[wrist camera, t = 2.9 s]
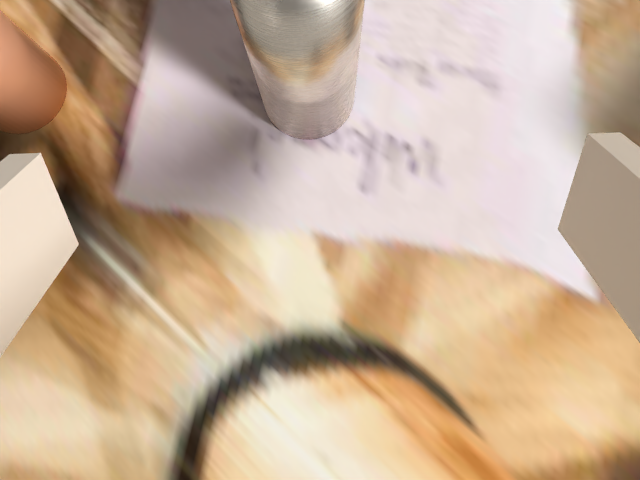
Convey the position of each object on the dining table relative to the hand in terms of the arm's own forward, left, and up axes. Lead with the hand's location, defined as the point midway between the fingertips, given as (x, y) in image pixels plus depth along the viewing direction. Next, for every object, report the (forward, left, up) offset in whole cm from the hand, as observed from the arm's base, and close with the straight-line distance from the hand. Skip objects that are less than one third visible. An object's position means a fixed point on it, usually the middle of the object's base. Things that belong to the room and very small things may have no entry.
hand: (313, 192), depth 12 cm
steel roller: (-1, +9, -13) cm, 16 cm away
